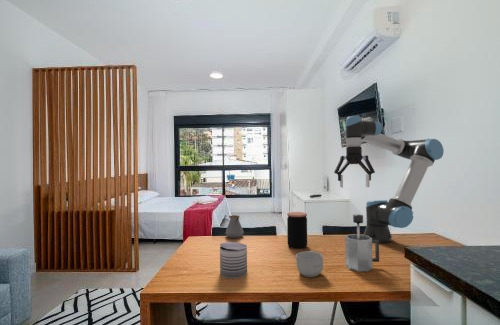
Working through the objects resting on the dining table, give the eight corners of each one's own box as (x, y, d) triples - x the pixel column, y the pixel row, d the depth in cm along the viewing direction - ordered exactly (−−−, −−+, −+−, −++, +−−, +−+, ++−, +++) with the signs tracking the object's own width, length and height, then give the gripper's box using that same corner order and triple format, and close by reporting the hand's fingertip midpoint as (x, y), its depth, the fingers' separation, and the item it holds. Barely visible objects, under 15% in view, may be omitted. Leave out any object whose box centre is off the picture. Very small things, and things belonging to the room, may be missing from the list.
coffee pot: (224, 235, 180) (224, 211, 180) (242, 233, 182) (241, 210, 182) (228, 244, 159) (228, 217, 159) (248, 242, 161) (248, 216, 162)
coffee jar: (306, 243, 158) (305, 211, 158) (308, 249, 147) (307, 215, 147) (287, 243, 159) (286, 211, 159) (287, 249, 148) (287, 215, 148)
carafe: (373, 262, 127) (373, 234, 127) (384, 271, 116) (383, 240, 116) (343, 262, 127) (342, 234, 127) (350, 271, 116) (350, 240, 117)
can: (220, 268, 122) (220, 241, 122) (246, 267, 123) (246, 240, 123) (219, 279, 111) (219, 248, 111) (248, 278, 111) (247, 247, 111)
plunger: (364, 257, 125) (363, 213, 126) (371, 264, 117) (371, 216, 118) (346, 258, 126) (345, 213, 126) (352, 264, 118) (351, 217, 118)
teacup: (318, 281, 107) (317, 260, 107) (291, 276, 113) (291, 256, 113) (328, 269, 119) (328, 251, 119) (304, 265, 125) (304, 247, 125)
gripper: (374, 146, 149) (375, 186, 149) (327, 147, 150) (328, 186, 150) (381, 145, 142) (381, 187, 142) (331, 146, 142) (332, 188, 142)
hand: (354, 187), depth 146 cm, fingers open, 13 cm apart
